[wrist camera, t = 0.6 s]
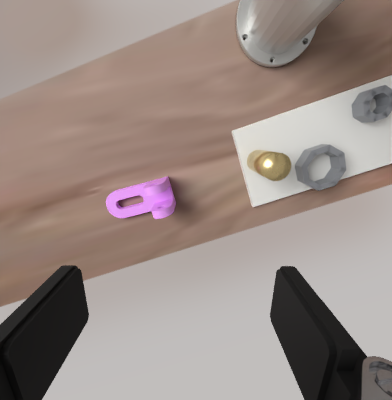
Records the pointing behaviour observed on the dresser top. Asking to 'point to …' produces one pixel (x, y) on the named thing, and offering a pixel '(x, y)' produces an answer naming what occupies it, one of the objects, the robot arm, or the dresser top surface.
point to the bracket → (153, 199)
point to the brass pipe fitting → (269, 164)
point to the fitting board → (321, 141)
